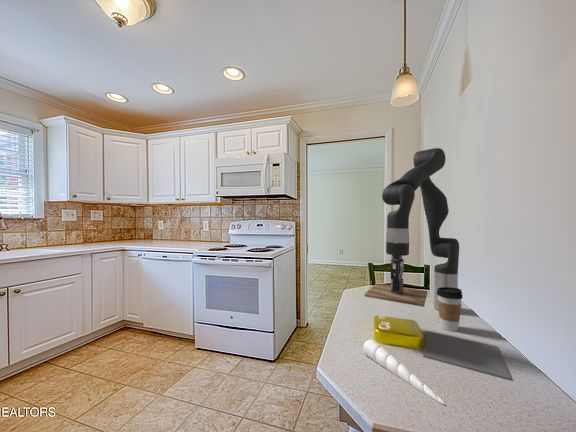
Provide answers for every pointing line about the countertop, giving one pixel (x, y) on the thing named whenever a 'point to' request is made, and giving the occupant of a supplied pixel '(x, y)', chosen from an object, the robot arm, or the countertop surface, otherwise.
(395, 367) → the unicorn horn
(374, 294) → the walnut lid
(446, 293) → the coffee cup
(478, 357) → the rubber mat
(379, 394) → the countertop surface
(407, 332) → the element tile
